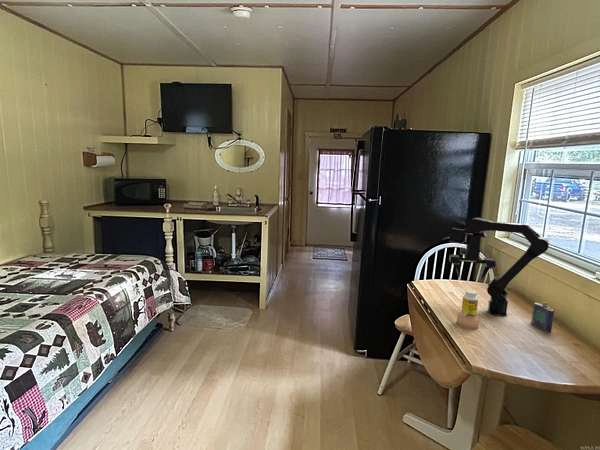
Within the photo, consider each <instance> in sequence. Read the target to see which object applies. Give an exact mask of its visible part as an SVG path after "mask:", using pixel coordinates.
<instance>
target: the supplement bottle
mask: <svg viewBox="0 0 600 450" xmlns="http://www.w3.org/2000/svg"><path fill="white" fill-rule="evenodd" d="M461 302H462V303H461V311H460V312H461V314H462V315H463V316H464V317H467V318H475V317H476V315H477V312H478V303H479V297H478V293H477V291H476V290H471V289H468V290H467V289H466V291H465V294H463V296H462V301H461Z"/></svg>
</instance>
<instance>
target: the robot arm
mask: <svg viewBox="0 0 600 450" xmlns="http://www.w3.org/2000/svg"><path fill="white" fill-rule="evenodd" d="M488 231H495V232H505V233H516V234H521V235H523V236H524V238H525V239H526V241H528V242H529V243H530V245H529V246H528V248H526V251H525V252H524V253H523V254H522V255H521V256H520V257H519V258H518V259H517V260H515V262H514V263H513V264H512V265H511V266H510V267H509V268H508V269H507V270H506V271H505V272H504V273H503V274H502V275H501V276H497V275H495V276H494V278H493V279H492V280H490V281H489V282H488V283H487V288H486V292H487V294H488V295H489V296H490V300H488V304H487V305H488V306H487V310H488V312H489V313H490V314H491V315H495V316H503V317H508V314H507V311H508V310H507V309H508V302H509V301H508V300H507V299H508V296H509V293H508V292H507V291H506V290H505V289H506V288H507V286H508V285H509V283H510V282H511V281H512V280H513V279H515V277H516V276H518V274H520V273H521V271H523V270H524V268H526V266H527V265H529V263H530V262H532V261H533V260H535V259H536V258H538V257H540V255H543V254H544V253H546V252H547V251H548V250H549V246H550V243H549V240H548V239H547V238H546V237H544V236H541V235H540V234H539V233H537V232H536V231H535V230H534V229H533V228H532V227H531V226H530V224H529V223H514V222H504V221H493V220H489V219H486V218H481V217H474V218H472V219H470V220H469V221H468V225H467V226H466V227H465V228H464V229H461V228H456V227H452V228H451V230H450V233H449V236H448V242H449V243H453V244H460V245H463V244H464V243H466V247H463V246H462V247H460V248H459V249H460V250H459V254H460V255H463V257H460V256H459V255H458V254H450V255H449V257H448V261H449V263H450V264H452V265H453V266H455V269H456V273H457V276H458V279H460V278H461V264H460V263H461V262H462V263H472V264H480V265H481V264H482V266H481V267H482V268H481V272H480V278H479V281H482V280H483V279H484V277H485V275H486V274H487V273H488V271H490V270H492V269H493V268H496V266H497V262H496V260H495V259H494V258H491V257H484V258H482V259H481V258H480V254H481V246H482V238H487V236H488V235H487V234H486V233H485V232H488ZM471 232H473V233H471Z"/></svg>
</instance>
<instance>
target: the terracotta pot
mask: <svg viewBox="0 0 600 450" xmlns="http://www.w3.org/2000/svg"><path fill="white" fill-rule="evenodd" d="M456 315H457V317H456V325H457V327H459V328H461V329H466V330H468V331H469V330H470V331H474V330H478V329H479V323H480V316H479V315H477V314H476V317H475V318H467V317H464V316H463V315H462V314H461V311H459V312H458V313H457V314H456Z"/></svg>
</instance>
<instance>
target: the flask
mask: <svg viewBox="0 0 600 450" xmlns="http://www.w3.org/2000/svg"><path fill="white" fill-rule="evenodd" d="M532 309H533V310H532V315H531V321H530V322H531V323H530V324H532V325H534V326H535V327H537V328H540V330H542V331H544V332H545V333H546V332H547V333H552V330H553V329H552V328H553V323H554V321H553V320H554V315H555V310H554V309H552V308H551V307H549V305H548V302H546V301H542V302H541V303H539V302H534V303H533V308H532Z"/></svg>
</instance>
